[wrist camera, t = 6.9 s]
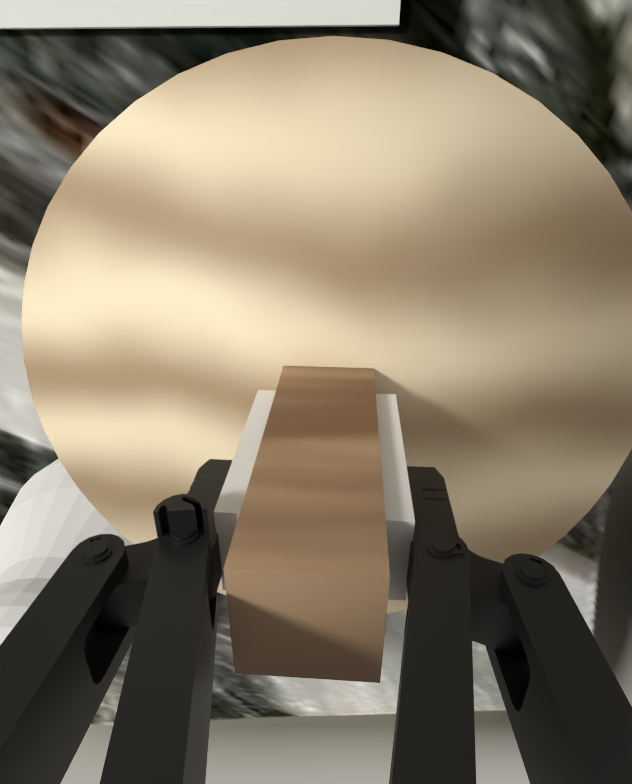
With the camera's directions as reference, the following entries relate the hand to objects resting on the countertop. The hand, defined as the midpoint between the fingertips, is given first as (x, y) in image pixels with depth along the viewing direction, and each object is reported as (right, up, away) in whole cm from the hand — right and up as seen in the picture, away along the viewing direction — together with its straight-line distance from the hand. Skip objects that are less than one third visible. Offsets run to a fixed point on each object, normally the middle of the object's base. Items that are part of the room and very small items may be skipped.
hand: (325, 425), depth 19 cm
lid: (0, +1, +2) cm, 3 cm away
